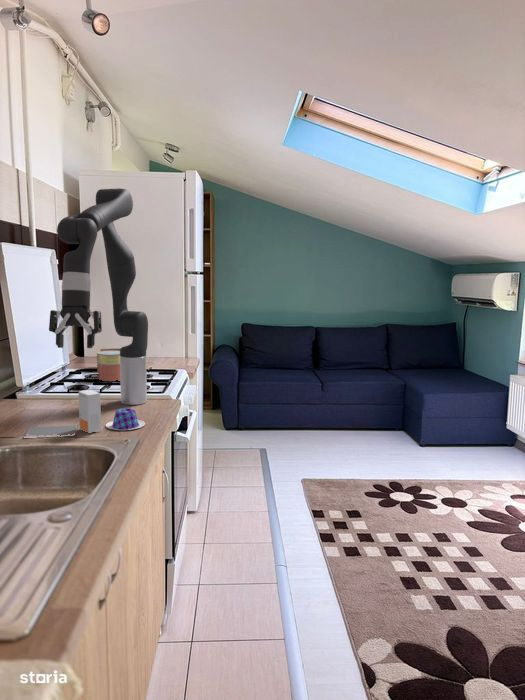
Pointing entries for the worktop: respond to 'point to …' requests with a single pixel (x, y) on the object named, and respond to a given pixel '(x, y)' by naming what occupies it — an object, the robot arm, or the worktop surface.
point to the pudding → (125, 420)
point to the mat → (52, 430)
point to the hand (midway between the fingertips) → (75, 347)
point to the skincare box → (89, 411)
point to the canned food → (109, 365)
